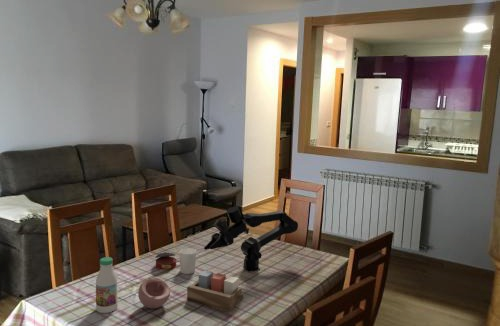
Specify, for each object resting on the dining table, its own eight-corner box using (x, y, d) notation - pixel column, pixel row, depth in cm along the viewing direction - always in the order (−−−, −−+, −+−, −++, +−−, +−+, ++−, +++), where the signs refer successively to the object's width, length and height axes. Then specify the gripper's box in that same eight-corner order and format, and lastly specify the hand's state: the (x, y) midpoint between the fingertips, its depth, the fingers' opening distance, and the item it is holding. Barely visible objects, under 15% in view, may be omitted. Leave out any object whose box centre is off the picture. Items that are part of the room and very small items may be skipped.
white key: (229, 293, 167) (229, 276, 166) (238, 295, 165) (238, 278, 164) (223, 298, 163) (224, 280, 161) (232, 300, 161) (233, 282, 160)
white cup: (192, 275, 187) (193, 254, 186) (176, 273, 188) (177, 253, 187) (198, 268, 195) (198, 249, 193) (182, 267, 196) (183, 247, 195)
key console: (203, 288, 174) (203, 275, 173) (242, 298, 166) (243, 284, 166) (187, 300, 163) (187, 286, 162) (229, 312, 155) (229, 297, 154)
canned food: (155, 277, 195) (146, 258, 194) (167, 267, 204) (158, 250, 203) (173, 271, 190) (163, 252, 189) (184, 261, 199) (175, 243, 198)
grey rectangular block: (204, 286, 172) (204, 270, 171) (212, 288, 170) (213, 272, 169) (198, 291, 167) (198, 274, 166) (206, 293, 166) (207, 276, 165)
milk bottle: (99, 303, 158) (98, 255, 155) (119, 303, 158) (119, 255, 156) (93, 314, 150) (92, 263, 147) (114, 313, 151) (114, 263, 148)
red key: (216, 290, 169) (217, 273, 168) (225, 292, 168) (225, 275, 167) (210, 294, 165) (211, 277, 164) (219, 297, 163) (219, 279, 162)
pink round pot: (154, 317, 149) (154, 288, 147) (131, 308, 155) (131, 280, 154) (176, 305, 159) (176, 277, 157) (154, 296, 165) (154, 270, 164)
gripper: (219, 217, 197) (193, 234, 190) (232, 213, 180) (203, 232, 174) (231, 237, 197) (204, 254, 190) (245, 235, 180) (216, 254, 174)
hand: (207, 248), depth 182 cm, fingers open, 9 cm apart
